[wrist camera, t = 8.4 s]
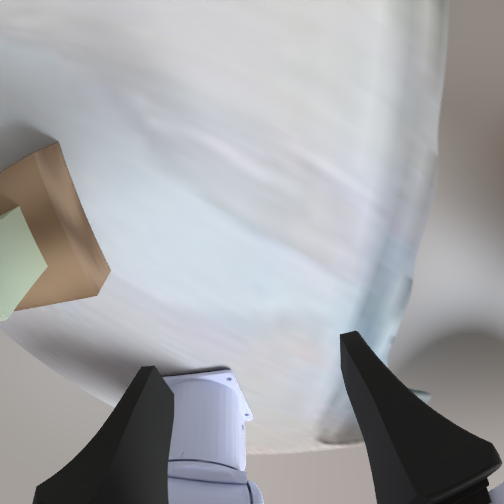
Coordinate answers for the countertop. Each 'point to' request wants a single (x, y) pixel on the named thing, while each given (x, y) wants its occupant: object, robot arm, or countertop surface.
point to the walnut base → (54, 228)
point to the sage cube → (17, 261)
